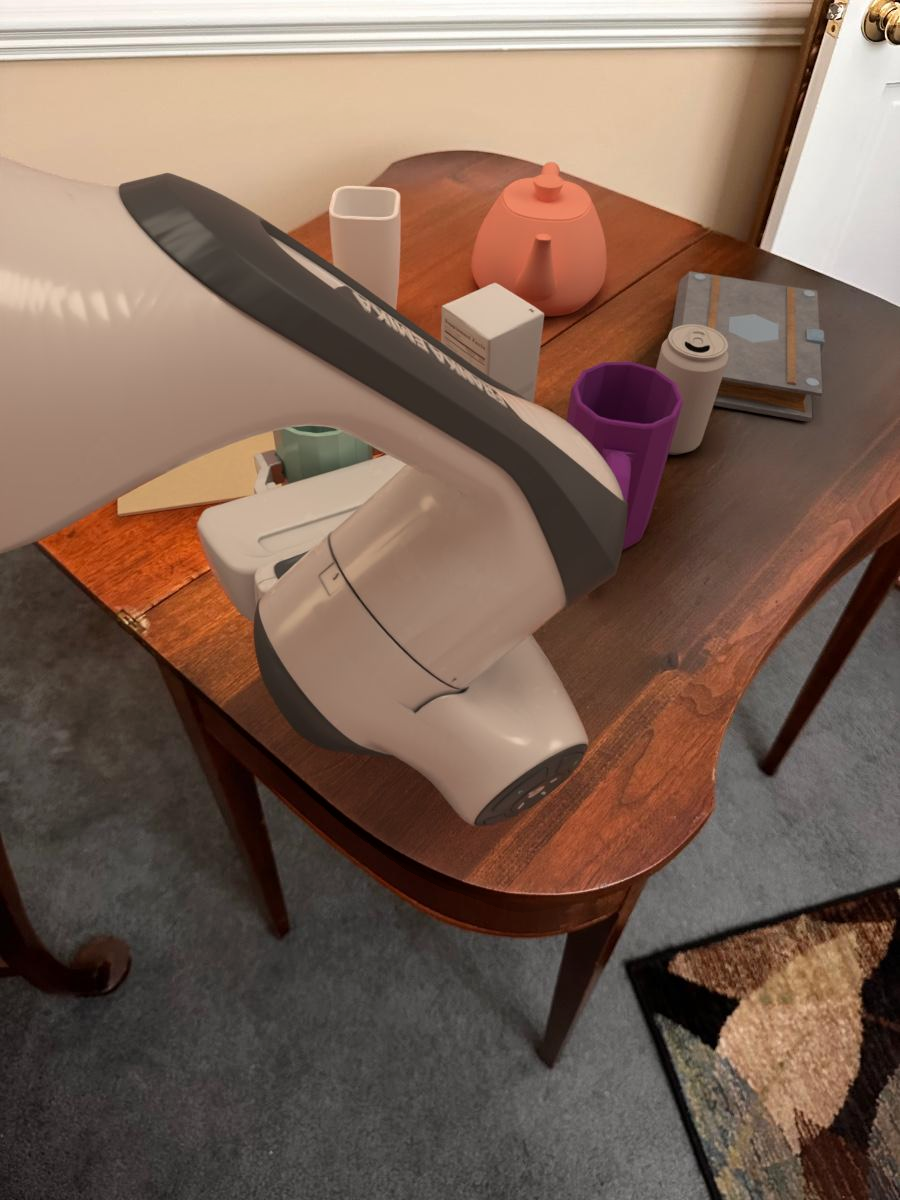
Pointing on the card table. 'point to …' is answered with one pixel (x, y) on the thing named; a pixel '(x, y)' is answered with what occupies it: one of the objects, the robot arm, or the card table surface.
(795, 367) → the book
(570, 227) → the teapot
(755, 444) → the card table surface
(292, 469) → the tumbler
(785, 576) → the card table surface
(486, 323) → the white packaging box
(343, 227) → the cup
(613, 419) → the mug
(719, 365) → the beverage can
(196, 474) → the mat
